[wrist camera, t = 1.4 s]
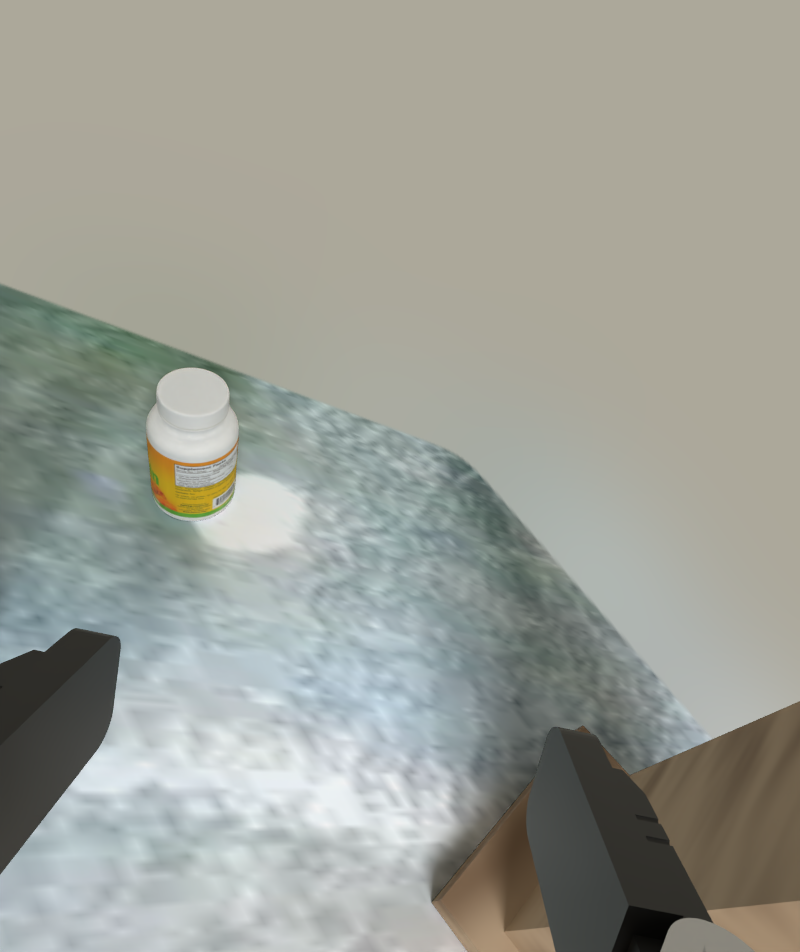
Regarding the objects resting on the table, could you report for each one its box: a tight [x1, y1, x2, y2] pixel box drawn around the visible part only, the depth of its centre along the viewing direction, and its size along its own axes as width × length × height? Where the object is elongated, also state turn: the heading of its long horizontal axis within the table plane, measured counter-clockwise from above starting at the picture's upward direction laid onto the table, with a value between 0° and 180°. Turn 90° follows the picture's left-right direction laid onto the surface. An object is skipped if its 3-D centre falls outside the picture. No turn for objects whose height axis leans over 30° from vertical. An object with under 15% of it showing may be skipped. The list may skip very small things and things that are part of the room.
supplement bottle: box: [146, 368, 239, 521], centre depth 37 cm, size 5×5×10 cm
